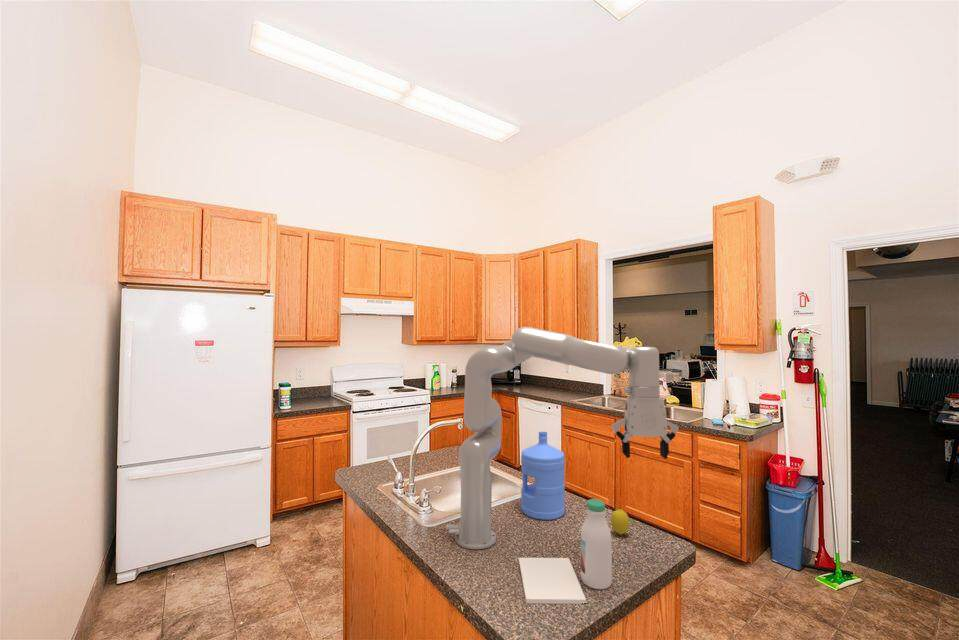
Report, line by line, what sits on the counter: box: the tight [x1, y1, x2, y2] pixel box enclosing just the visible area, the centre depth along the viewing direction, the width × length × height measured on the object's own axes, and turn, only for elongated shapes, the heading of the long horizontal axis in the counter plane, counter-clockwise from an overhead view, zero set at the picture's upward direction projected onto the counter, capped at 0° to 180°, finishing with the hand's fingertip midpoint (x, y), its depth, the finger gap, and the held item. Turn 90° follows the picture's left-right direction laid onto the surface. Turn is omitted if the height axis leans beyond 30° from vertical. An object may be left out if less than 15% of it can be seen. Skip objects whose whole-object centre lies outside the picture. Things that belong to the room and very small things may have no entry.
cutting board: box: [518, 557, 587, 605], centre depth 104 cm, size 14×18×1 cm
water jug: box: [520, 431, 566, 521], centre depth 147 cm, size 16×16×28 cm
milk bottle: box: [580, 498, 613, 590], centre depth 105 cm, size 8×8×20 cm
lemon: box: [610, 508, 630, 536], centre depth 130 cm, size 6×6×8 cm
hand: (645, 456), depth 109 cm, fingers open, 9 cm apart
